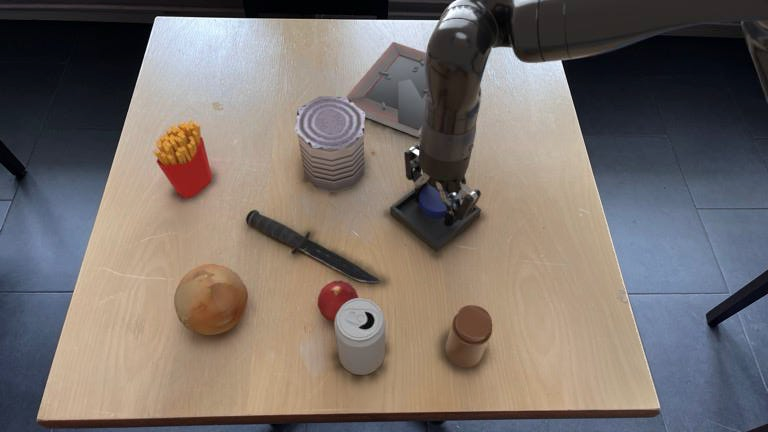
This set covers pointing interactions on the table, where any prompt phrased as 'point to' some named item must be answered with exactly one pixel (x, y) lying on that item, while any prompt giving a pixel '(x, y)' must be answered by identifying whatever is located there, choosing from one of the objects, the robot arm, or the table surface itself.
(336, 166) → the can
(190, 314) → the onion
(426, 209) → the lid
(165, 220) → the table surface
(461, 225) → the tray
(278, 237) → the knife
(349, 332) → the beverage can
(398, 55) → the picture frame
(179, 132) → the french fries
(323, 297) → the onion
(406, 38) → the table surface
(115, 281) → the table surface
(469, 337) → the jar
